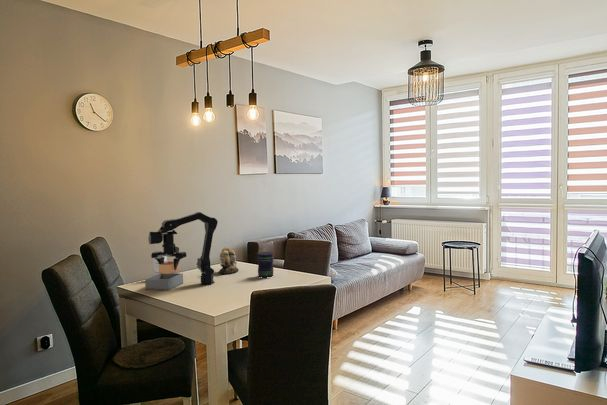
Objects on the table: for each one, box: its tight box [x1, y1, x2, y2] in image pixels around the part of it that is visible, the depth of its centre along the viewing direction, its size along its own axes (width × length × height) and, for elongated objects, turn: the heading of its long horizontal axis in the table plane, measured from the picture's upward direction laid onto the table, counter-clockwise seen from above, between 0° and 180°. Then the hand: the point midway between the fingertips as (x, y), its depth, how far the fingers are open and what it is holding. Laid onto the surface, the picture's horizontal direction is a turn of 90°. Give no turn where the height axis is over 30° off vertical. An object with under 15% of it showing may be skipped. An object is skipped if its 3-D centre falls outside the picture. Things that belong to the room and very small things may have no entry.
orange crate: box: [159, 260, 180, 274], centre depth 231 cm, size 7×10×5 cm
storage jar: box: [257, 251, 274, 279], centre depth 260 cm, size 10×10×15 cm
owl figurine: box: [218, 246, 239, 275], centre depth 275 cm, size 18×12×17 cm, turn 166°
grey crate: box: [144, 272, 184, 291], centre depth 238 cm, size 14×16×6 cm
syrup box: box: [153, 256, 168, 275], centre depth 256 cm, size 6×6×14 cm
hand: (169, 270), depth 231 cm, fingers closed on orange crate, 7 cm apart
